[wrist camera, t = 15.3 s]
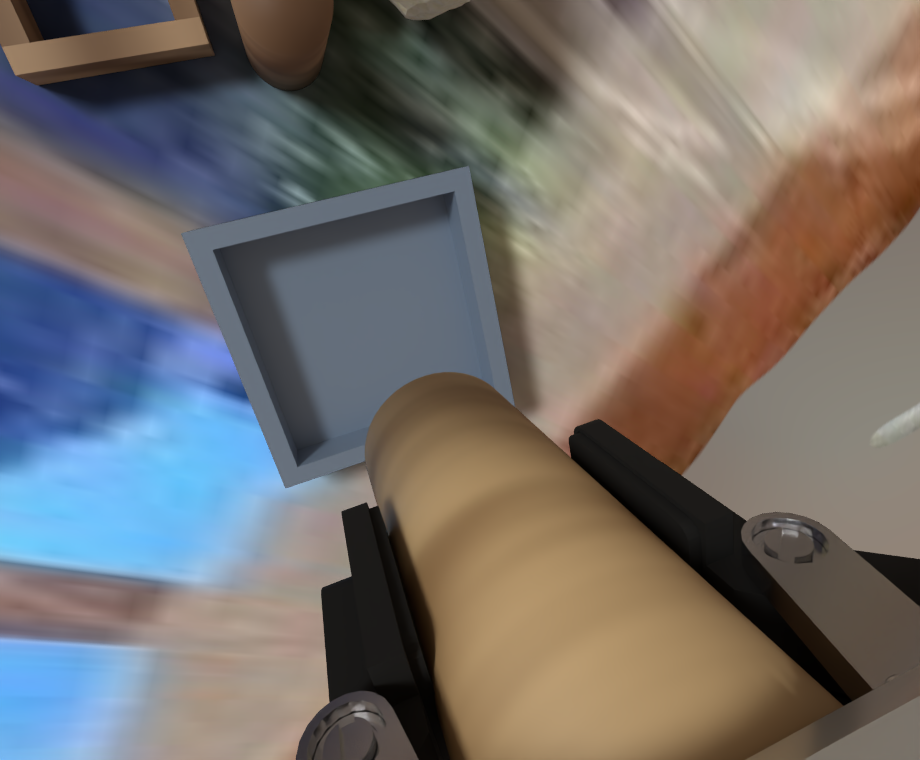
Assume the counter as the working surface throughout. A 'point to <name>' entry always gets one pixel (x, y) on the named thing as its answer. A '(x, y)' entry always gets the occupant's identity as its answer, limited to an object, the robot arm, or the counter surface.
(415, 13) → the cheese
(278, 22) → the peg
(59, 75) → the dowel socket
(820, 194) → the counter surface
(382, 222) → the tray
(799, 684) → the dowel
